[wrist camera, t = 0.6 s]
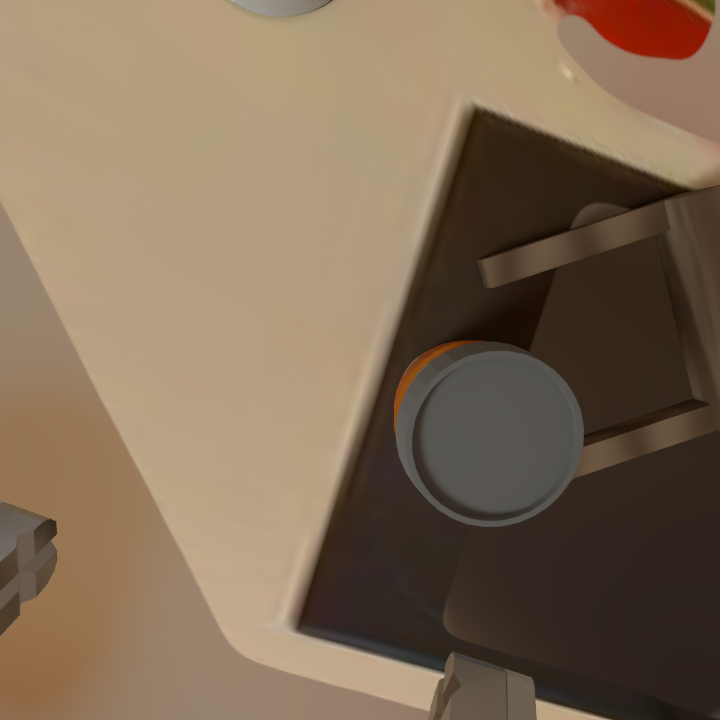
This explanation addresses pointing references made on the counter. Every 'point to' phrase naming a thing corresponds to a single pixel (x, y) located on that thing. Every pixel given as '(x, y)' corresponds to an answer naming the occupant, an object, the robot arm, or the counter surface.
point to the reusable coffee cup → (487, 431)
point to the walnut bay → (688, 298)
